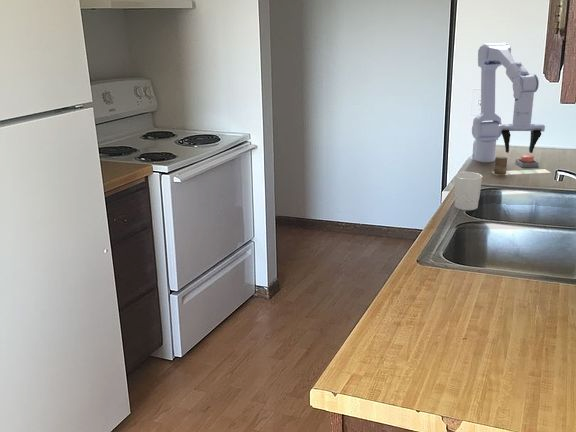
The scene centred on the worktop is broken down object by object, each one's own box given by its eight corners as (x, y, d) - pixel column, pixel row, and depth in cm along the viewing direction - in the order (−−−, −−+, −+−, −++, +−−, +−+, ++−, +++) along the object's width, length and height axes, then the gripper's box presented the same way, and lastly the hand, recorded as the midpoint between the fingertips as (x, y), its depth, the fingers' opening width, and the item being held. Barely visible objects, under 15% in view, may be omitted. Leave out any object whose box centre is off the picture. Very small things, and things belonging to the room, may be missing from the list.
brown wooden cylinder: (492, 171, 220) (493, 156, 218) (503, 171, 220) (504, 156, 218) (496, 174, 216) (497, 159, 214) (507, 174, 216) (509, 159, 214)
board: (487, 172, 223) (487, 169, 223) (541, 169, 224) (542, 167, 224) (498, 180, 213) (498, 177, 213) (554, 177, 214) (555, 174, 214)
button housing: (515, 165, 230) (515, 159, 229) (530, 165, 230) (531, 158, 230) (521, 170, 224) (522, 163, 224) (537, 169, 225) (538, 162, 224)
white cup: (477, 202, 191) (479, 171, 188) (482, 211, 184) (484, 178, 181) (451, 202, 192) (452, 171, 189) (455, 211, 185) (457, 179, 181)
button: (518, 161, 229) (519, 155, 228) (530, 161, 229) (530, 154, 228) (523, 164, 225) (524, 158, 224) (535, 164, 225) (536, 157, 224)
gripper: (501, 114, 203) (498, 154, 207) (548, 114, 200) (544, 155, 205) (498, 110, 209) (495, 149, 214) (543, 110, 207) (539, 150, 211)
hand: (518, 152), depth 210 cm, fingers open, 7 cm apart
